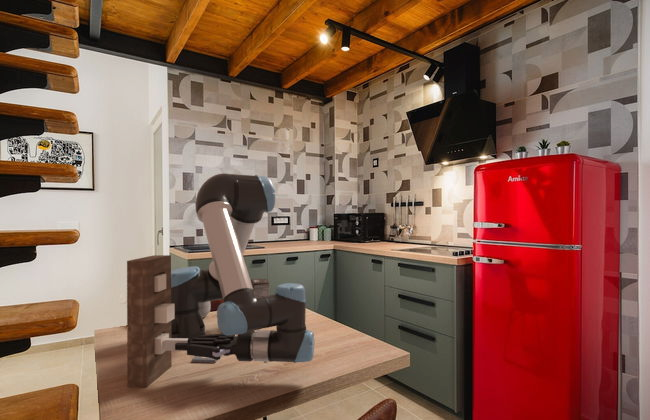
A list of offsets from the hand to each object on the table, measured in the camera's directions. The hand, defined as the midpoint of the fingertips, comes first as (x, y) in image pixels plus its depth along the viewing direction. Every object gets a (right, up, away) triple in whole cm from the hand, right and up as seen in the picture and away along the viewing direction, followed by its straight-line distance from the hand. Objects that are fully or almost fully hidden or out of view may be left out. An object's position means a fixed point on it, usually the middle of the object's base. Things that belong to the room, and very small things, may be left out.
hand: (165, 344), depth 93 cm
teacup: (-11, -9, +55) cm, 57 cm away
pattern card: (+7, -9, +14) cm, 18 cm away
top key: (-3, +14, +1) cm, 14 cm away
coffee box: (+16, -9, +47) cm, 51 cm away
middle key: (-1, +6, 0) cm, 6 cm away
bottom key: (-2, -2, 0) cm, 3 cm away
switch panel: (-4, -8, 0) cm, 9 cm away
